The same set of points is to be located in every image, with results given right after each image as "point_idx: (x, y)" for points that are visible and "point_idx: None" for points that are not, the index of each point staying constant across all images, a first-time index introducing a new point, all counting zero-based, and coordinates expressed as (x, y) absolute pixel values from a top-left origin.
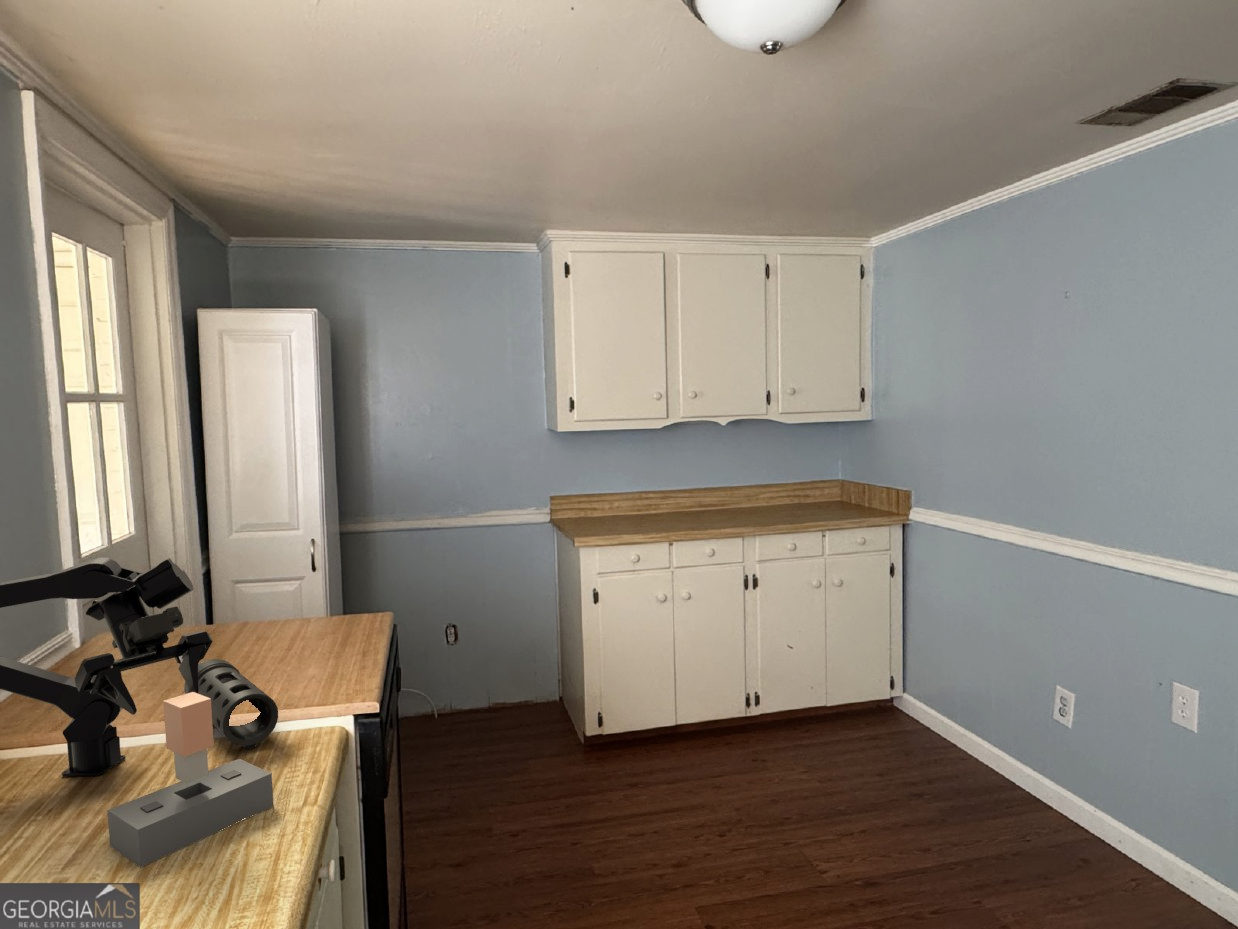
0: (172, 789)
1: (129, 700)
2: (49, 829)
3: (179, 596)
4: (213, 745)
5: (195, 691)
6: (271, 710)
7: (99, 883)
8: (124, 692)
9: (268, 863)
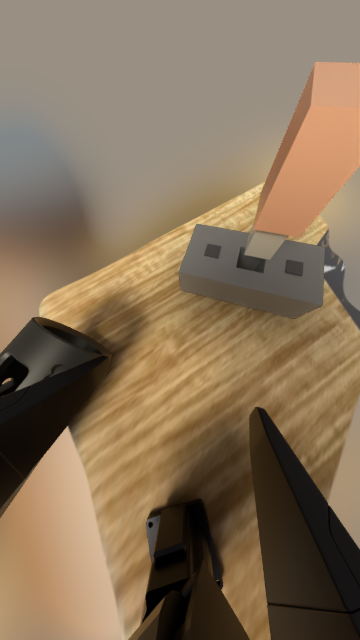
0: (258, 280)
1: (283, 446)
2: (309, 414)
3: None
4: (261, 191)
5: (106, 360)
6: (50, 325)
7: (326, 280)
8: (312, 499)
9: (252, 206)
